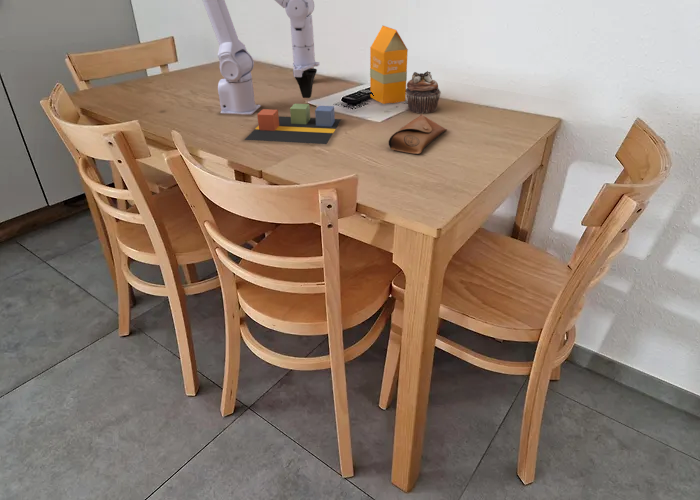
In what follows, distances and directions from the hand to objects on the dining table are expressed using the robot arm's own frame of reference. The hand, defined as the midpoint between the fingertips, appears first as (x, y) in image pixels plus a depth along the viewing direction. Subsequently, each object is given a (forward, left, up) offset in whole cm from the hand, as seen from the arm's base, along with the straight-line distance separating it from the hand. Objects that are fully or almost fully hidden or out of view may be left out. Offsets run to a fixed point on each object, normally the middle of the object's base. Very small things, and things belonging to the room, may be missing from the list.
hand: (306, 97), depth 136 cm
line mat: (0, -13, -5) cm, 14 cm away
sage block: (0, -7, -4) cm, 8 cm away
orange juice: (+20, +17, -5) cm, 27 cm away
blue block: (+7, -8, -4) cm, 11 cm away
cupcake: (+31, +9, -5) cm, 33 cm away
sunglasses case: (+32, -15, -5) cm, 36 cm away
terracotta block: (-7, -13, -4) cm, 15 cm away
